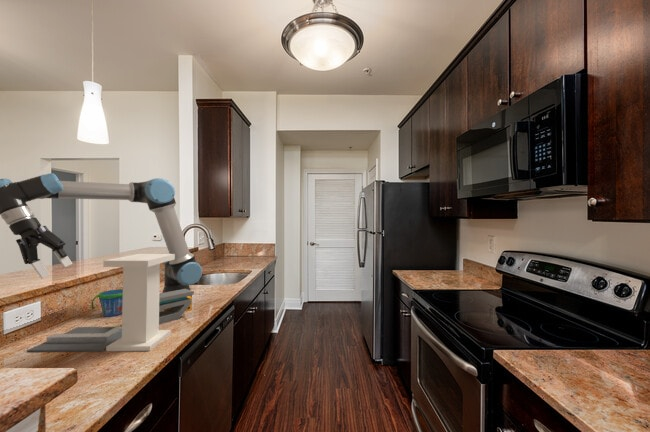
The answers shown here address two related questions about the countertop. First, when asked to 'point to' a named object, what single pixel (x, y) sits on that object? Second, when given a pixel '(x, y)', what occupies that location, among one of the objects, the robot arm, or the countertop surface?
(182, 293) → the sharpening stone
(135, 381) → the countertop surface
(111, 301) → the snack cup
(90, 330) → the mat
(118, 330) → the bracket
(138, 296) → the stand
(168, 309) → the pipe clamp
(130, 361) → the countertop surface
